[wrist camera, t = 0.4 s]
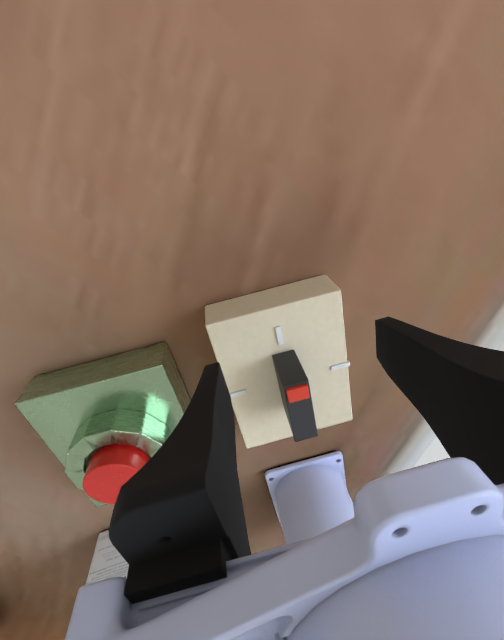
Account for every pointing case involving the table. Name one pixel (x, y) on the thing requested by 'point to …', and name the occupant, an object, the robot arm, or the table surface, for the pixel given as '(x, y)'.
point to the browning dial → (295, 395)
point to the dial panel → (276, 337)
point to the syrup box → (106, 561)
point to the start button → (112, 470)
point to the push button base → (106, 406)
